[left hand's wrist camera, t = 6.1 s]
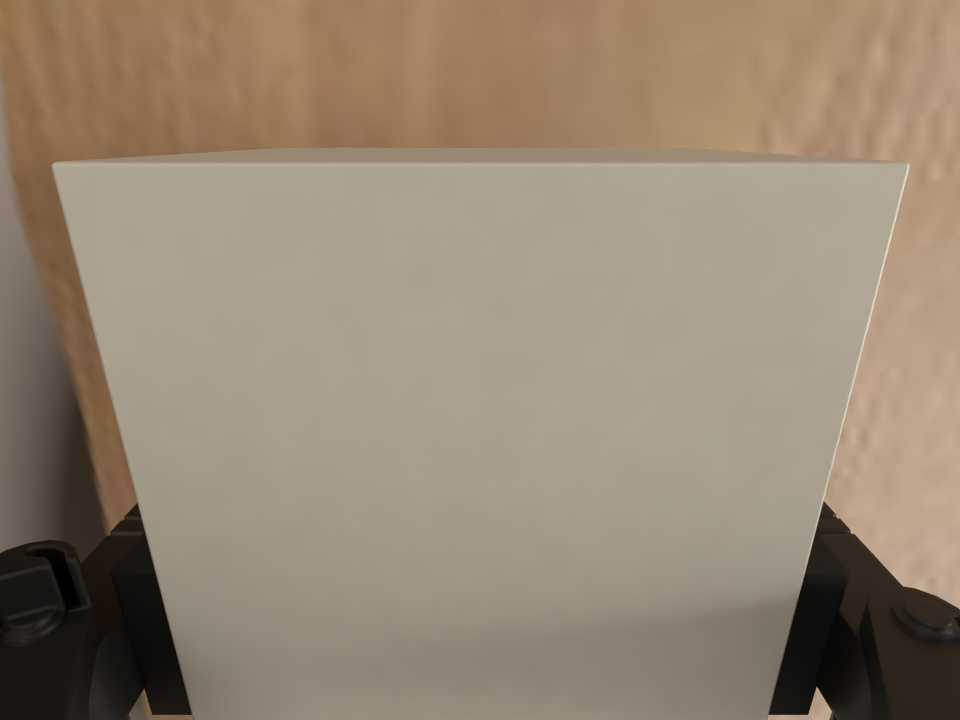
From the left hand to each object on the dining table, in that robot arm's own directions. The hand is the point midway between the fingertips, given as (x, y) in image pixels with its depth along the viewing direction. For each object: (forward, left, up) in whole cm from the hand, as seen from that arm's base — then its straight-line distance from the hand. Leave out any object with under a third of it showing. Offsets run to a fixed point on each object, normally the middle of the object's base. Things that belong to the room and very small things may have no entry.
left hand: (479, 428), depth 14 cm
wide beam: (+26, +6, -1) cm, 27 cm away
